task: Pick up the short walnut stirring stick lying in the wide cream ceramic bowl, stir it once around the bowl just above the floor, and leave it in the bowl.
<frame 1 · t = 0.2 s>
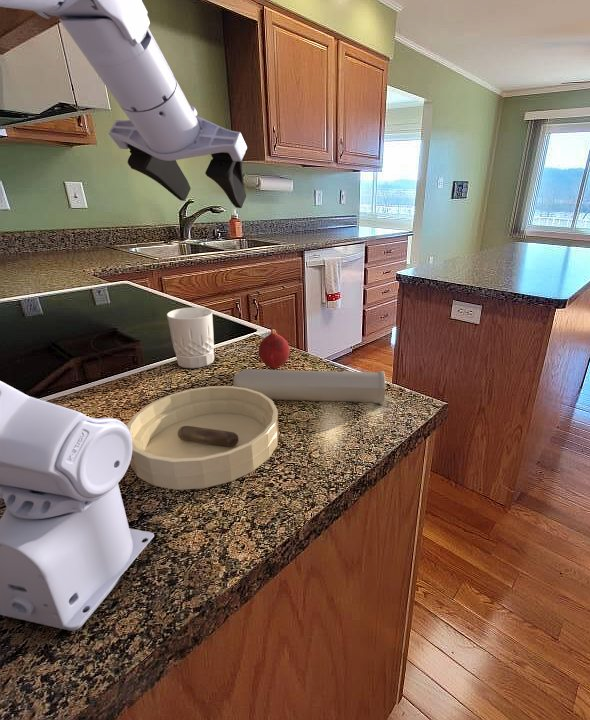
hand: (213, 198, 49), 31 cm above the countertop, tool tilted 45°, fingers open, 7 cm apart
bowl: (209, 446, 53), on the countertop
stick: (208, 442, 53), point 1 cm above the countertop, touching bowl
onion: (275, 369, 77), on the countertop
tube: (309, 400, 67), on the countertop
white cup: (196, 362, 78), on the countertop
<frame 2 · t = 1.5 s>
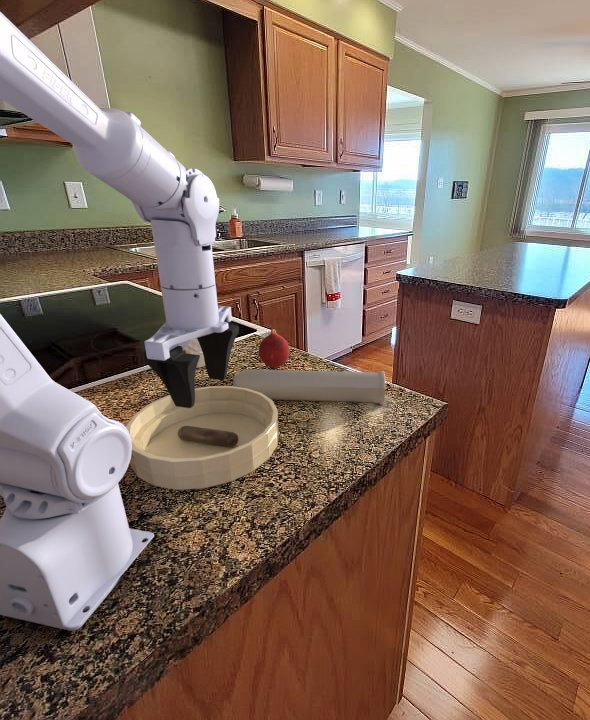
hand: (202, 391, 50), 8 cm above the countertop, tool pointing down, fingers open, 7 cm apart
nothing on the countertop moved.
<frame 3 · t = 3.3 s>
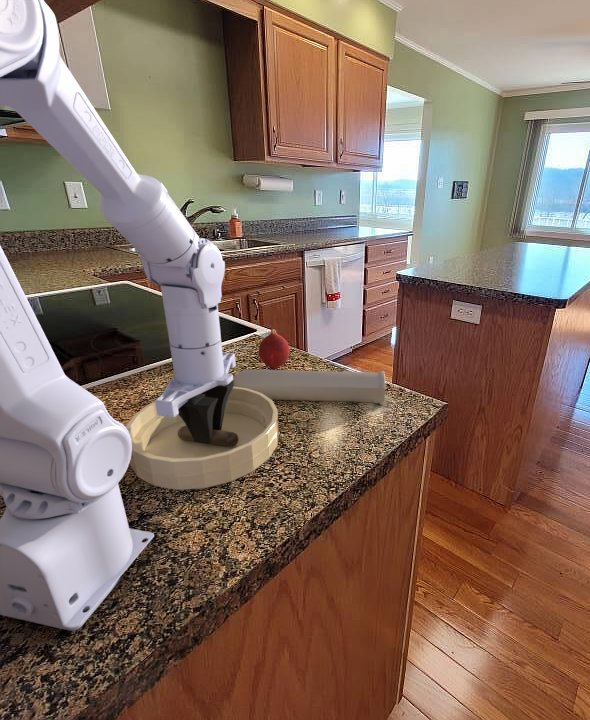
hand: (207, 436, 53), 2 cm above the countertop, tool pointing down, fingers closed on stick, 2 cm apart
stick: (208, 442, 53), point 1 cm above the countertop, touching bowl, gripper
everything else where it was.
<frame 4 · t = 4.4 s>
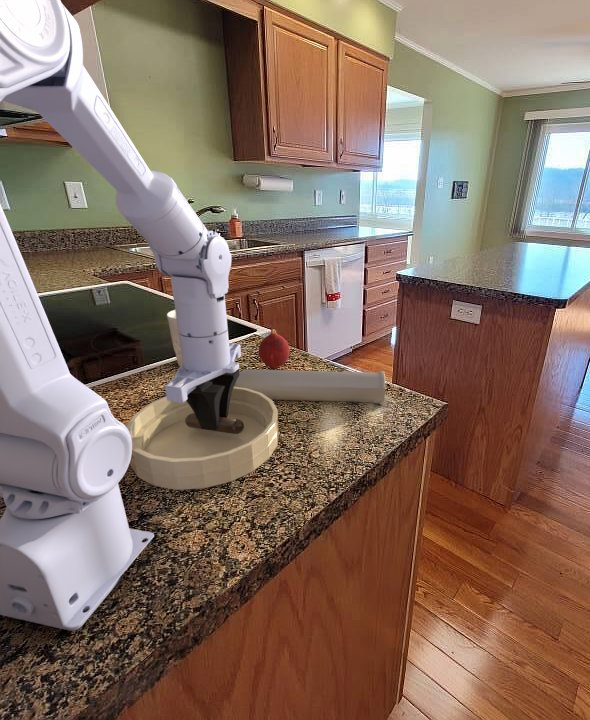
hand: (214, 423, 54), 2 cm above the countertop, tool pointing down, fingers closed on stick, 2 cm apart
stick: (215, 429, 55), point 1 cm above the countertop, touching gripper
everything else where it was.
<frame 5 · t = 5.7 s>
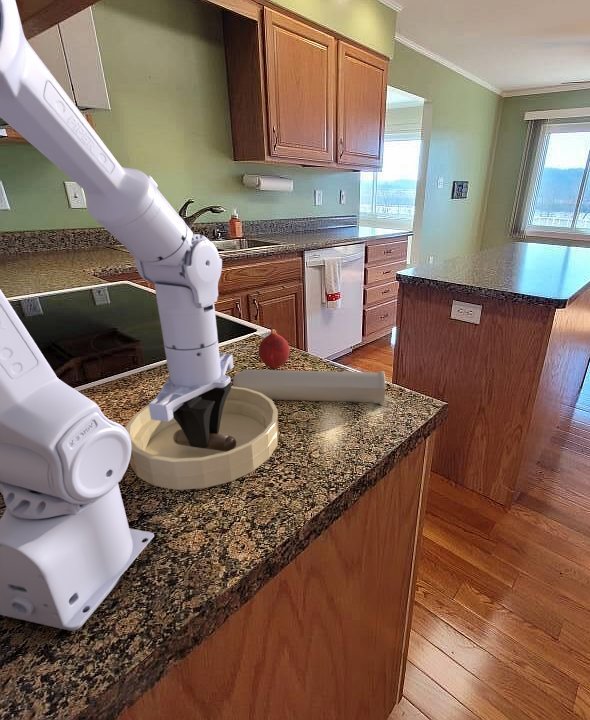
hand: (204, 440, 51), 2 cm above the countertop, tool pointing down, fingers closed on stick, 2 cm apart
stick: (205, 446, 51), point 1 cm above the countertop, touching gripper
everything else where it was.
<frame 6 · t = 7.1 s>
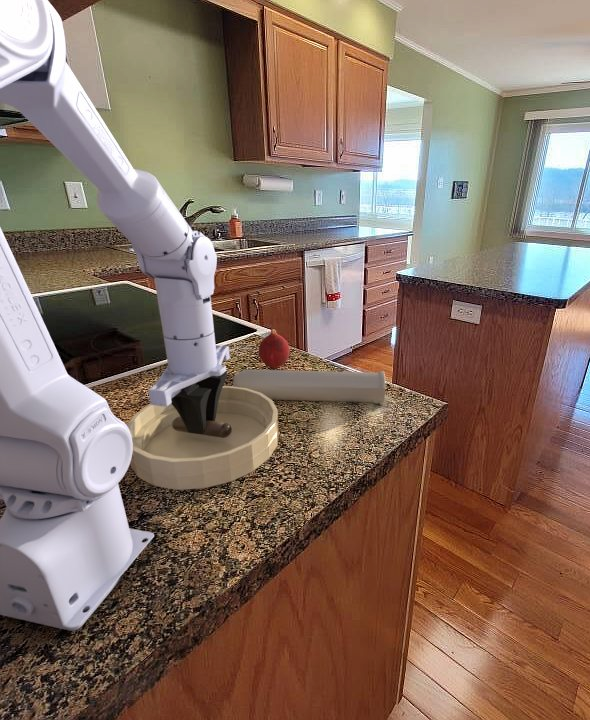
hand: (201, 427, 54), 2 cm above the countertop, tool pointing down, fingers closed on stick, 2 cm apart
stick: (202, 433, 54), point 1 cm above the countertop, touching gripper
everything else where it was.
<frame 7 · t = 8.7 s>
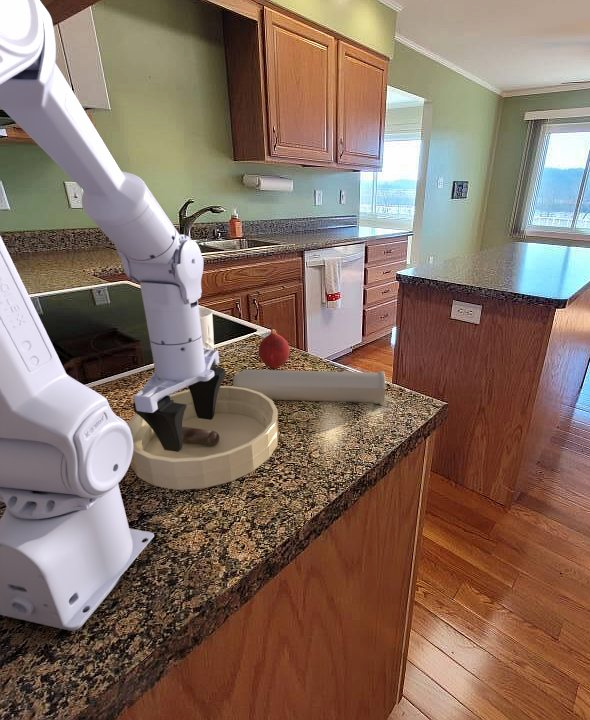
hand: (190, 432, 53), 2 cm above the countertop, tool pointing down, fingers open, 7 cm apart
stick: (191, 439, 53), point 1 cm above the countertop, tilted 22°, touching bowl
everything else where it was.
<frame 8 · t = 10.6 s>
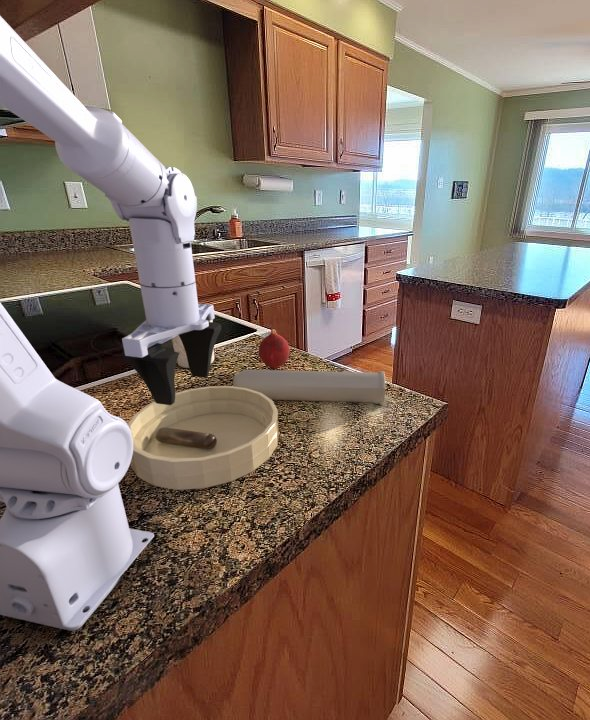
hand: (184, 388, 50), 8 cm above the countertop, tool pointing down, fingers open, 7 cm apart
stick: (190, 437, 53), point 1 cm above the countertop, tilted 63°, touching bowl
everything else where it was.
at the end: stick inside the target area in the bowl (2.5 cm from its centre), point 1.2 cm above the bowl's base; stick moved 2.6 cm from its start; the gripper is holding nothing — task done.
